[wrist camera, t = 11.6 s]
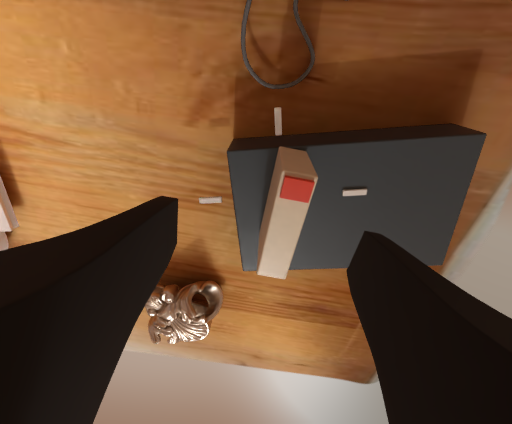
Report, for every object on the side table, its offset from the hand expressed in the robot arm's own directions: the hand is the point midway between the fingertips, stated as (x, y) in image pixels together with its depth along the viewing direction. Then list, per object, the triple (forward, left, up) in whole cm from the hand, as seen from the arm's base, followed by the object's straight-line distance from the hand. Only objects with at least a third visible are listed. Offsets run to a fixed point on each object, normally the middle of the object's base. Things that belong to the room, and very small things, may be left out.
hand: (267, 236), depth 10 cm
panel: (+4, -2, -9) cm, 10 cm away
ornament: (-9, -13, -9) cm, 18 cm away
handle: (+1, -1, -6) cm, 6 cm away
